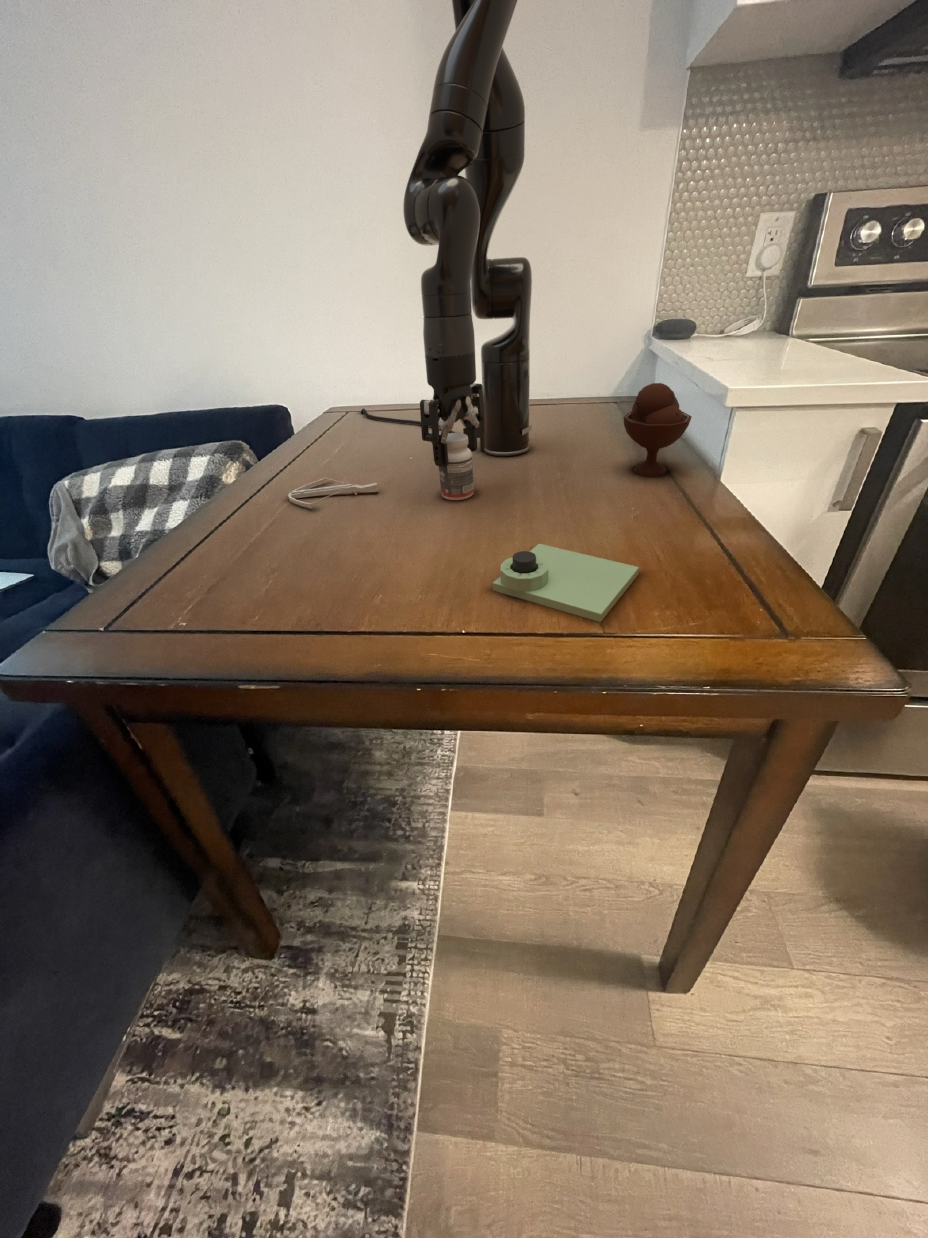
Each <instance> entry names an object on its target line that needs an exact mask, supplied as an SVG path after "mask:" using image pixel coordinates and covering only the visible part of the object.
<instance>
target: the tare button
mask: <svg viewBox="0 0 928 1238" xmlns="http://www.w3.org/2000/svg"><path fill="white" fill-rule="evenodd" d="M512 557H513V571H514V572H517V573H521V574H526V573H531V572H535V570H536V555H535V554H534V553H532V552H530V550H529V551H527V550H521V551H517V552H515V553H513V554H512Z"/></svg>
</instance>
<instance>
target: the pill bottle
mask: <svg viewBox="0 0 928 1238" xmlns="http://www.w3.org/2000/svg"><path fill="white" fill-rule="evenodd" d="M445 443H447V450H448V466H446V467H440V466H438V473H439V475H438V476H439V483H440V484H439V485H440V487H439V488H440V494H441V496H442V497H443V499H446V500H449V501H462V500H466V499H467V500H468V499H469V498H471V497H472V496H473V495H474V494H475V485H474V484H475V483H474V468H473V466H474V465H473V452H471V450H470V449H469V448H467V445H468V436H467V435H466V434H463V432H462V433H461V432H455V433H448V436H447V440H446V442H445Z"/></svg>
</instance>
